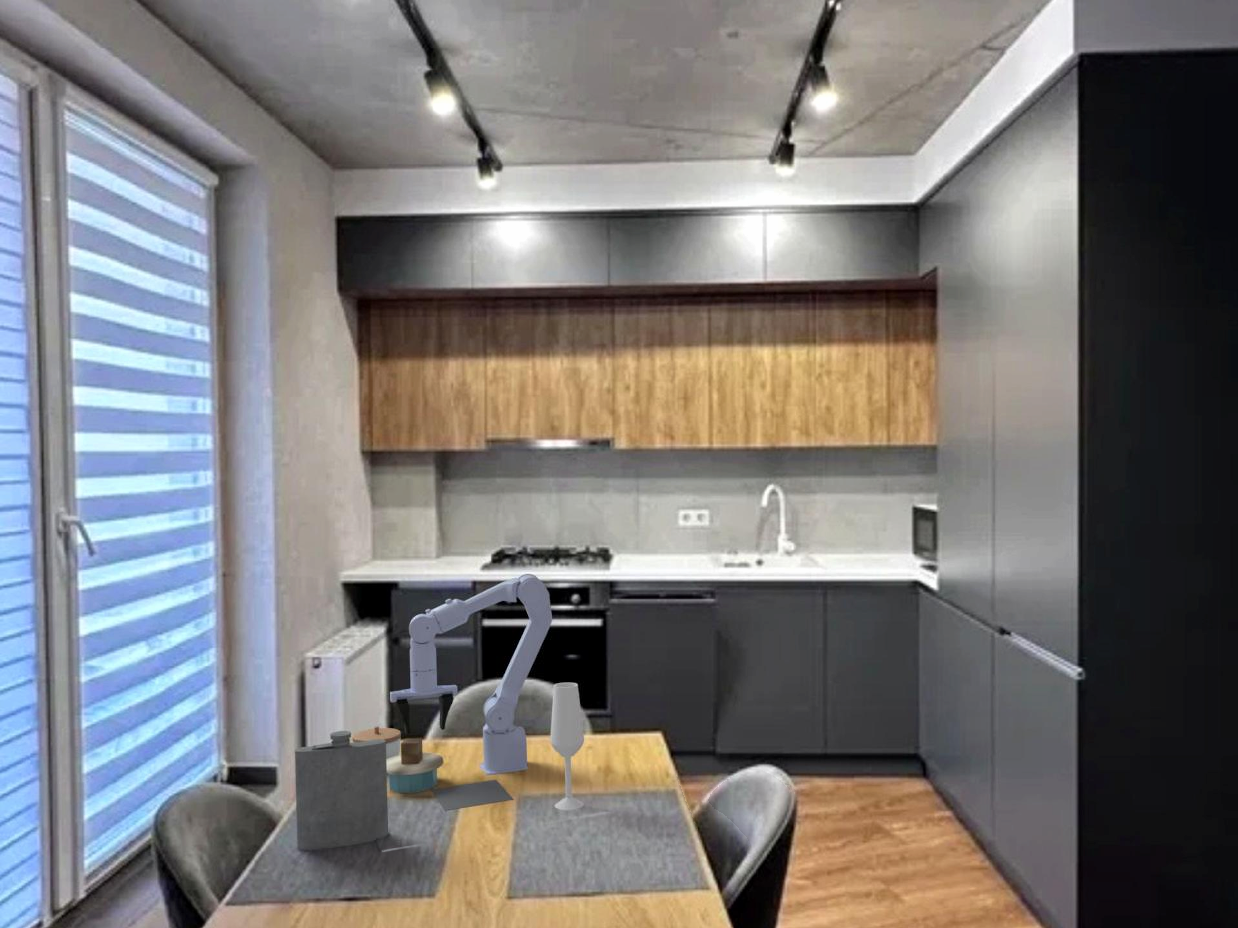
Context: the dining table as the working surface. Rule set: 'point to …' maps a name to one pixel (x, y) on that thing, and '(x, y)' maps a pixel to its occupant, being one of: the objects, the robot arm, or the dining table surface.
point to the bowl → (412, 782)
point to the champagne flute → (567, 734)
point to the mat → (471, 794)
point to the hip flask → (341, 792)
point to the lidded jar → (382, 733)
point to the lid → (413, 759)
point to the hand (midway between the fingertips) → (425, 730)
